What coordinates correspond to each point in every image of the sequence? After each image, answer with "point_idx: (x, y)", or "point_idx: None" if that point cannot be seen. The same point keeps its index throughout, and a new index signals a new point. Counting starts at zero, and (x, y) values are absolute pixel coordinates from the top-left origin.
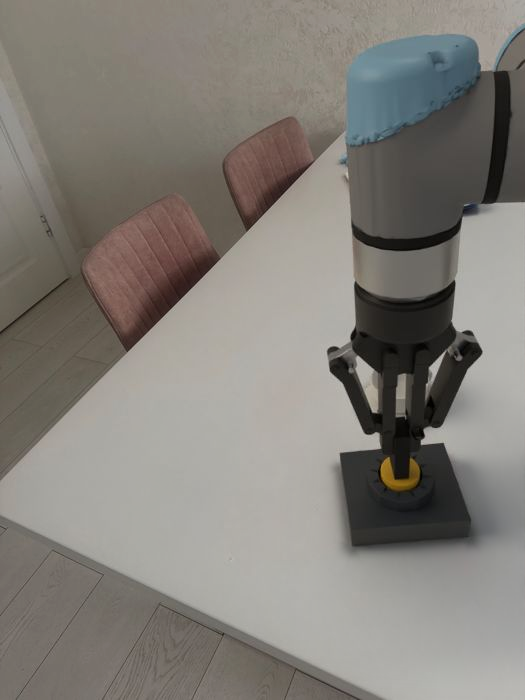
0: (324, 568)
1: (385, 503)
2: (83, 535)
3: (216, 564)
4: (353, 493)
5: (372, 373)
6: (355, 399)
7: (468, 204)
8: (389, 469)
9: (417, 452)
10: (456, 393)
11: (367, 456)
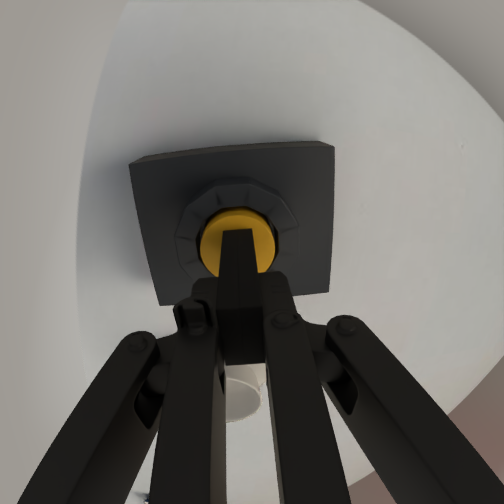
0: (361, 111)
1: (270, 188)
2: None
3: (473, 142)
4: (320, 216)
5: (257, 409)
6: (446, 441)
7: None
8: (258, 252)
9: None
10: (53, 441)
11: None
